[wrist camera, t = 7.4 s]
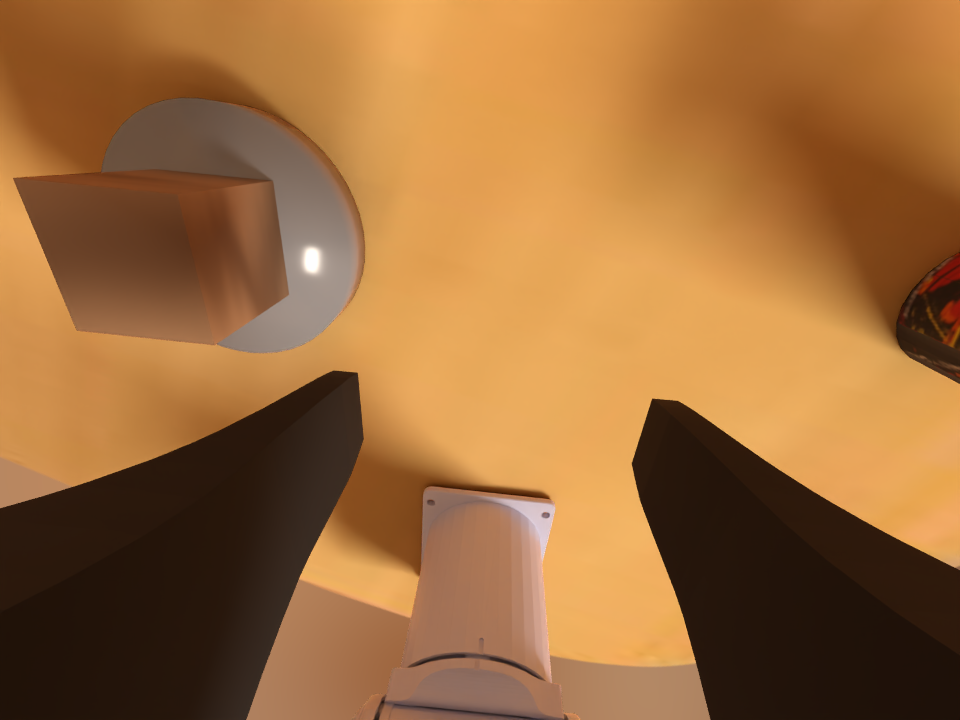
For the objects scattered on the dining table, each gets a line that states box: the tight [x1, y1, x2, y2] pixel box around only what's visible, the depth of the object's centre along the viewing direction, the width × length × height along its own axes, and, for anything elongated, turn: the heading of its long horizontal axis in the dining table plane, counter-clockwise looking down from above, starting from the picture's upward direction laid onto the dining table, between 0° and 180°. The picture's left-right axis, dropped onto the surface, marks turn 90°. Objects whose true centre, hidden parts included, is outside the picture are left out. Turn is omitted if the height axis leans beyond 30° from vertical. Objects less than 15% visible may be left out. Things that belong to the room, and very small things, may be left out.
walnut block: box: [13, 169, 289, 345], centre depth 14 cm, size 4×4×5 cm
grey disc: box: [101, 98, 365, 353], centre depth 17 cm, size 10×10×2 cm
